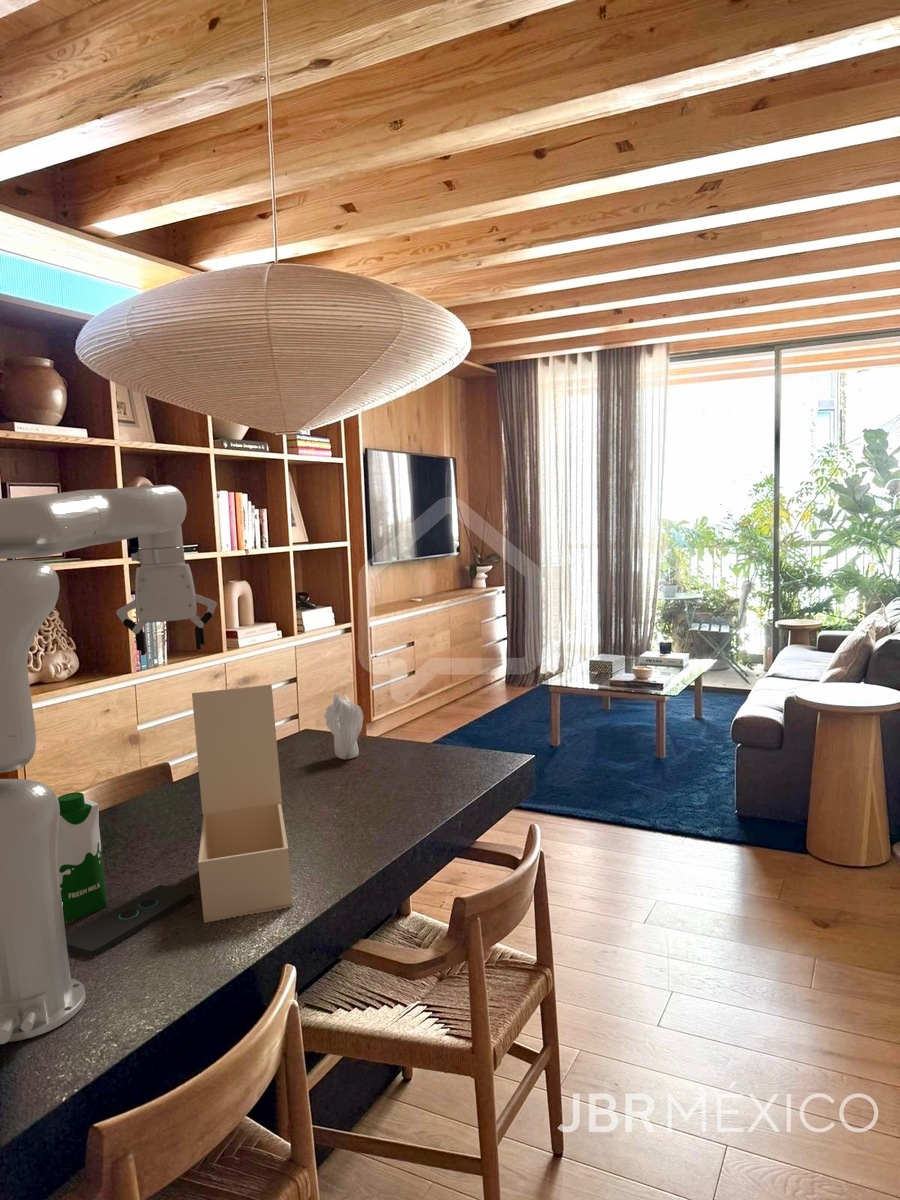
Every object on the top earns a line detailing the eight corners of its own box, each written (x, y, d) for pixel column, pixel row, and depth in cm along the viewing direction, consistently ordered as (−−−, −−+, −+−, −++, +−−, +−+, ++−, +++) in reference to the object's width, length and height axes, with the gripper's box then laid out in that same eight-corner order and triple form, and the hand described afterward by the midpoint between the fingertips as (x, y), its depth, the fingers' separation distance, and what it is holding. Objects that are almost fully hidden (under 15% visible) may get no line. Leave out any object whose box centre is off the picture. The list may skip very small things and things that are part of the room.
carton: (293, 906, 132) (288, 848, 131) (204, 922, 129) (198, 862, 127) (285, 854, 153) (281, 803, 152) (208, 866, 150) (203, 814, 149)
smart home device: (193, 891, 137) (93, 950, 120) (194, 901, 137) (94, 961, 120) (159, 883, 141) (56, 939, 124) (160, 892, 141) (57, 950, 124)
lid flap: (271, 684, 152) (270, 682, 159) (191, 693, 149) (194, 690, 155) (282, 803, 152) (280, 795, 159) (202, 814, 149) (204, 806, 155)
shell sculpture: (352, 750, 219) (347, 685, 217) (367, 757, 212) (362, 690, 210) (324, 757, 214) (319, 691, 212) (339, 764, 207) (334, 695, 205)
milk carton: (63, 927, 130) (49, 807, 128) (38, 912, 135) (24, 797, 133) (115, 905, 136) (103, 791, 134) (89, 892, 142) (77, 782, 140)
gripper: (108, 562, 140) (118, 659, 142) (211, 555, 144) (220, 649, 146) (114, 560, 147) (124, 653, 149) (212, 553, 151) (221, 644, 153)
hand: (171, 651), depth 148 cm, fingers open, 9 cm apart
